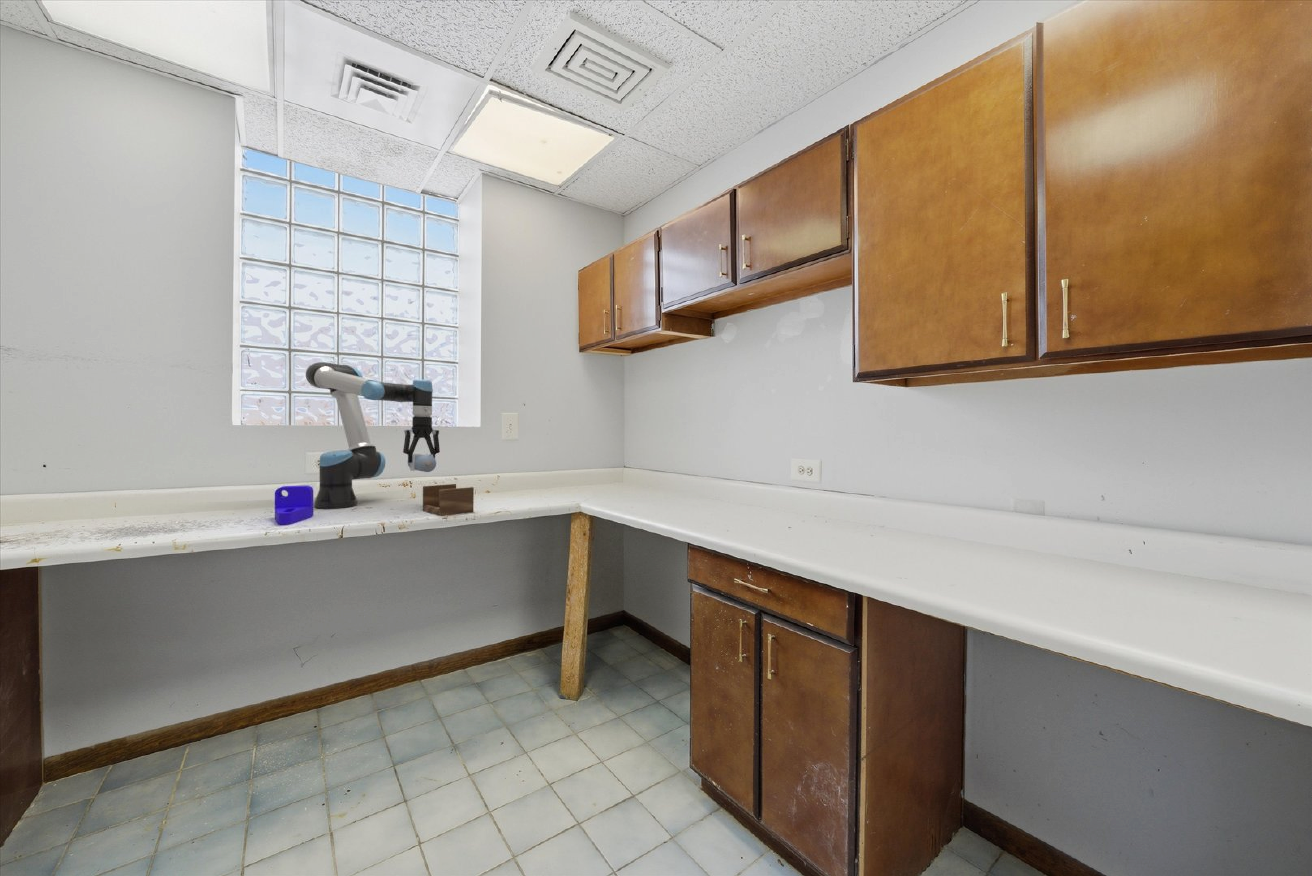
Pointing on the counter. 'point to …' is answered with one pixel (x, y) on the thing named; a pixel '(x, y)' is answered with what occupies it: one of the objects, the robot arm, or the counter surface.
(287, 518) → the bracket
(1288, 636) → the counter surface
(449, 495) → the cradle
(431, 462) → the towel roll
